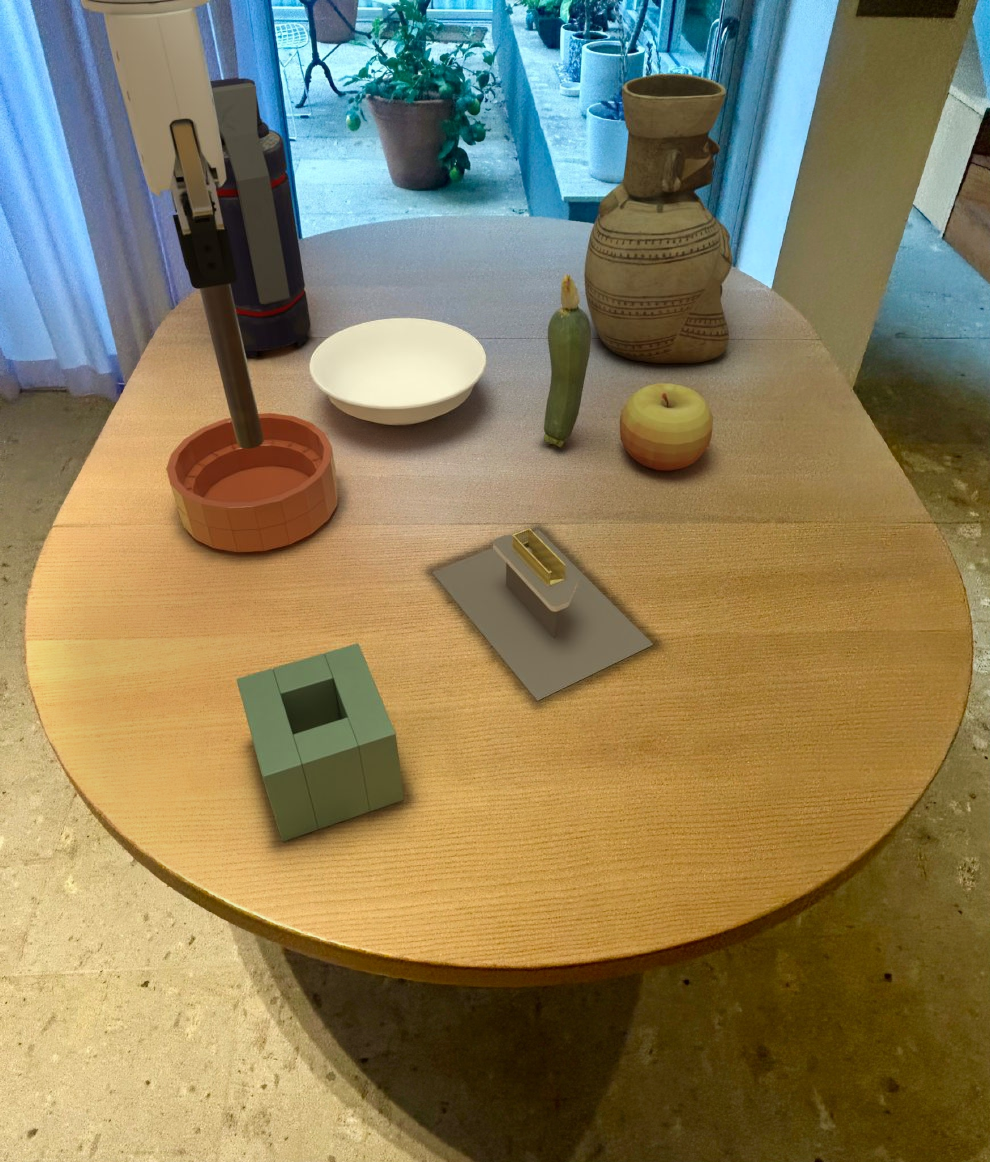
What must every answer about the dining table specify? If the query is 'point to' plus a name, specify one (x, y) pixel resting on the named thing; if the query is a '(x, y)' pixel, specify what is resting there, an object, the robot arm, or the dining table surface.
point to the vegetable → (566, 364)
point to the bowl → (398, 369)
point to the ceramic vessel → (662, 230)
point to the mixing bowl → (254, 484)
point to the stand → (322, 740)
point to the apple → (666, 426)
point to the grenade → (259, 223)
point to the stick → (232, 363)
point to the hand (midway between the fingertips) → (211, 274)
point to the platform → (540, 612)
